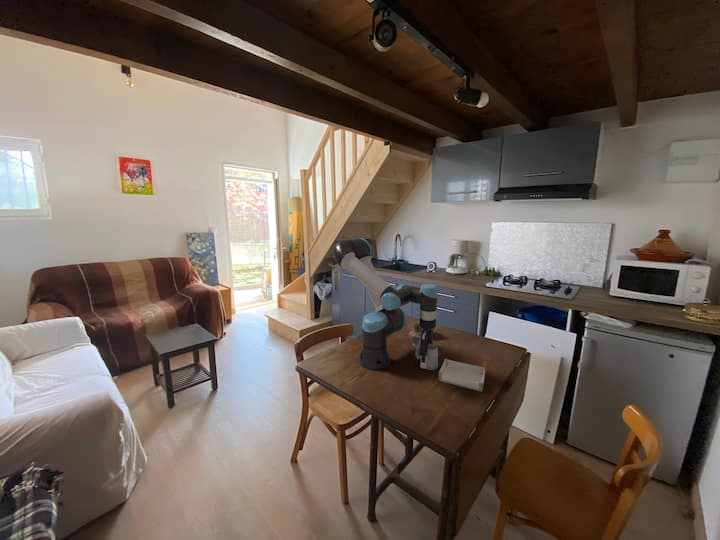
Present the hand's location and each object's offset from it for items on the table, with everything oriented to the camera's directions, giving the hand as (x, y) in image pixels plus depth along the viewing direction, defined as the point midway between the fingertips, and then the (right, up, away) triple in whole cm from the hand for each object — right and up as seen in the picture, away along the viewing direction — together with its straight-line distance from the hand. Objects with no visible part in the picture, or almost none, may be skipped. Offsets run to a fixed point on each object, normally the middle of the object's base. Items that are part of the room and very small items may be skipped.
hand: (425, 363), depth 139 cm
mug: (0, -1, +1) cm, 1 cm away
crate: (+13, -3, -10) cm, 17 cm away
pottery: (+4, +5, +28) cm, 28 cm away
